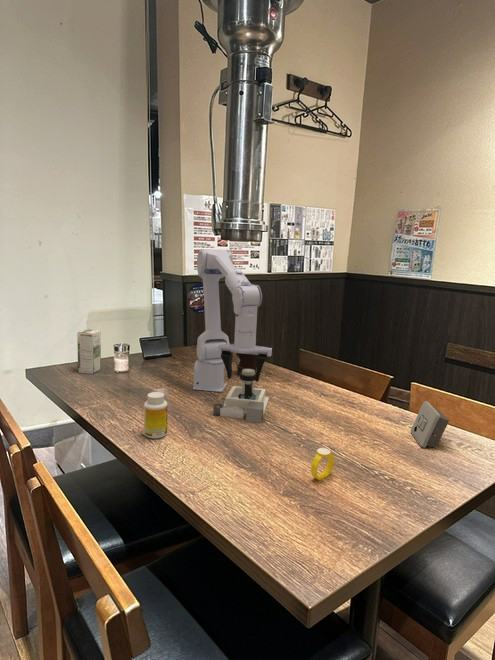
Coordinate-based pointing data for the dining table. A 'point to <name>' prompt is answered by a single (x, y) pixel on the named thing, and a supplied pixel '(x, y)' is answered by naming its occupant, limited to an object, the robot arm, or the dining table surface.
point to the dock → (243, 402)
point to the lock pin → (228, 411)
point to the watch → (320, 454)
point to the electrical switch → (429, 426)
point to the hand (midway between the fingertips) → (243, 379)
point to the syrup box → (89, 351)
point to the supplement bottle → (155, 415)
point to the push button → (247, 384)
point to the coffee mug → (246, 362)
